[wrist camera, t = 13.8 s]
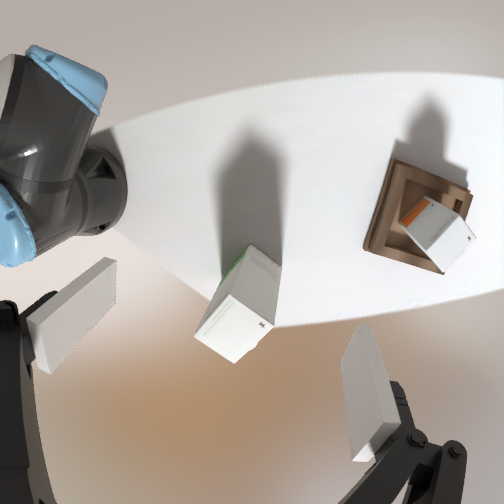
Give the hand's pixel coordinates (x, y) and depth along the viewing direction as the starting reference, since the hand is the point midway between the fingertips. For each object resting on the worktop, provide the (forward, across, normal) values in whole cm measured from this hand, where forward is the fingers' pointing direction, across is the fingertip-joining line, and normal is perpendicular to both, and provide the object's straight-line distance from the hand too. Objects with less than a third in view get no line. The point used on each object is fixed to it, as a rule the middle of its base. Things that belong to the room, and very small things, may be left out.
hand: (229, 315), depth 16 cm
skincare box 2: (+30, -22, -3) cm, 37 cm away
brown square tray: (+31, -22, -3) cm, 38 cm away
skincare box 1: (+31, 0, +12) cm, 34 cm away
